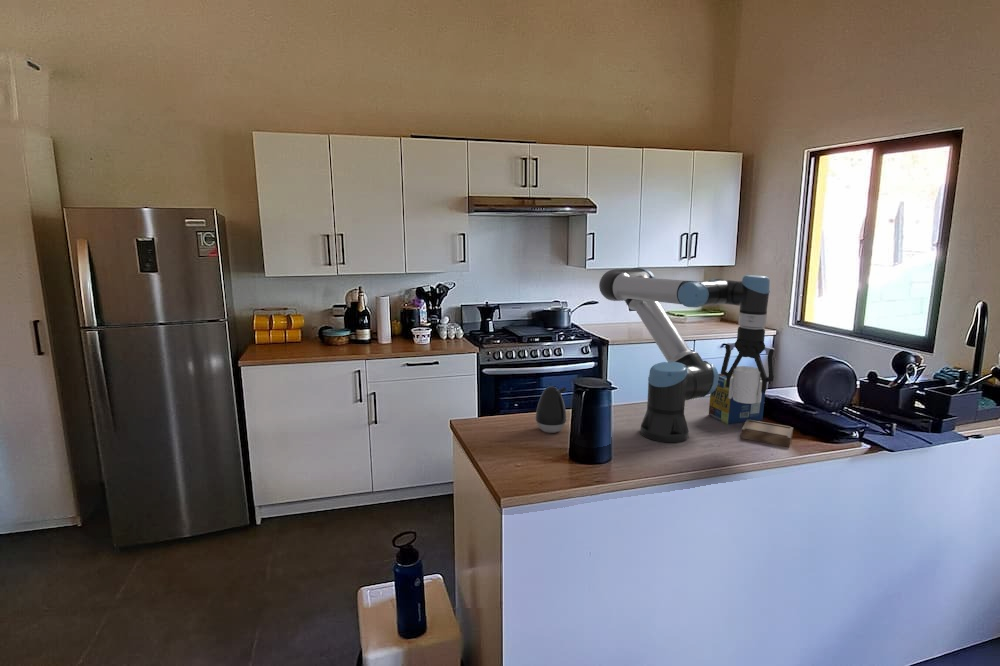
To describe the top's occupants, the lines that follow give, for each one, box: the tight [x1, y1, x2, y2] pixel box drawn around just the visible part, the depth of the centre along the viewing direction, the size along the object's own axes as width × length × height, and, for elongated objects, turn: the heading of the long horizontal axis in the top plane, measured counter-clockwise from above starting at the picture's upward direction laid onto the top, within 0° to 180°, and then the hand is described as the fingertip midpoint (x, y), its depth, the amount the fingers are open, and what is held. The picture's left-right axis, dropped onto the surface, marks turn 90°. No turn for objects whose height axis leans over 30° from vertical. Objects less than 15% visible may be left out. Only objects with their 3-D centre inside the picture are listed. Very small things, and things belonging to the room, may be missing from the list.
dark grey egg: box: [535, 385, 567, 434], centre depth 182 cm, size 10×10×15 cm
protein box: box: [708, 373, 766, 425], centre depth 196 cm, size 10×15×16 cm
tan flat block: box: [740, 420, 794, 448], centre depth 178 cm, size 14×11×3 cm
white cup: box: [733, 365, 761, 404], centre depth 168 cm, size 8×8×10 cm
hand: (744, 399), depth 169 cm, fingers closed on white cup, 7 cm apart
